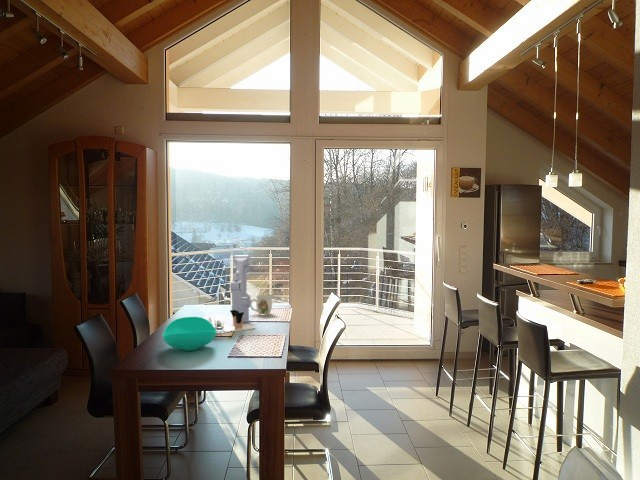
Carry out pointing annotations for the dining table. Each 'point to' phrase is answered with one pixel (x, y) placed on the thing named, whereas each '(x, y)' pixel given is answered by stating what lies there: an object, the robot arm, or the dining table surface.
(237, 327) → the block
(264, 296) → the pitcher
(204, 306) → the dining table surface
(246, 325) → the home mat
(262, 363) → the dining table surface
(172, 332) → the table top decor
